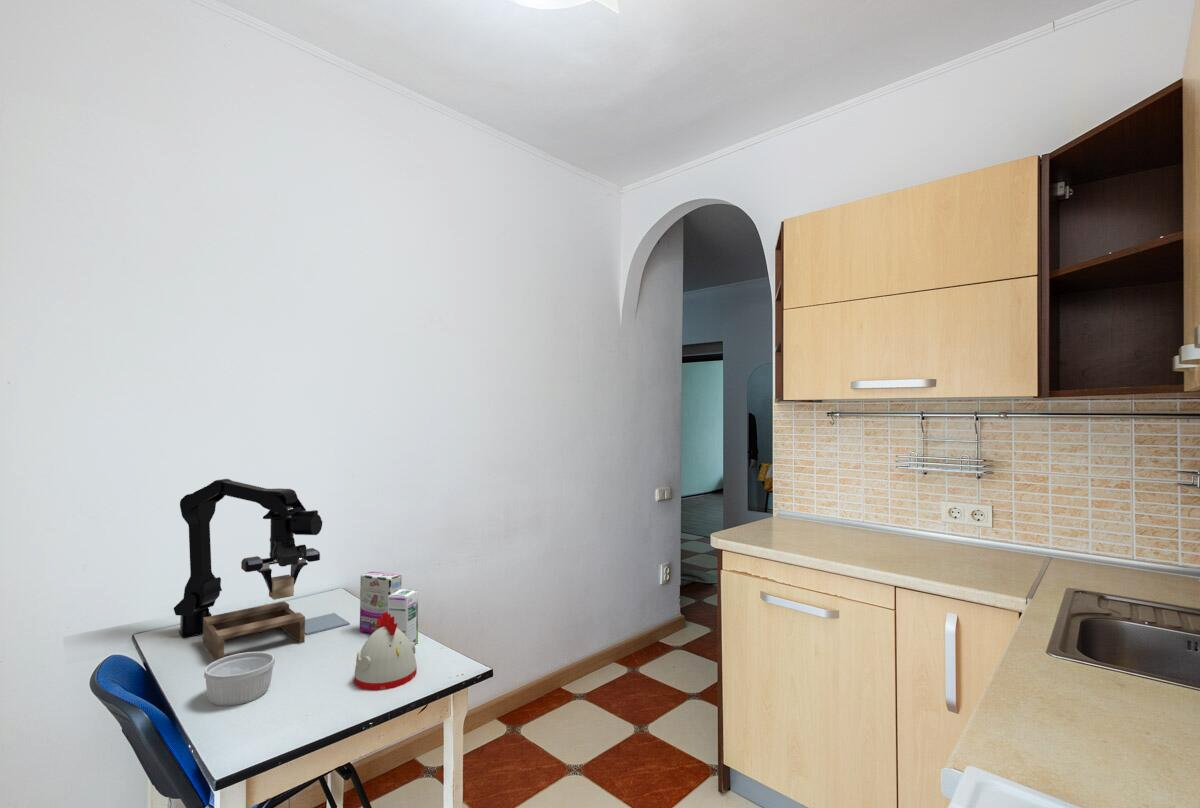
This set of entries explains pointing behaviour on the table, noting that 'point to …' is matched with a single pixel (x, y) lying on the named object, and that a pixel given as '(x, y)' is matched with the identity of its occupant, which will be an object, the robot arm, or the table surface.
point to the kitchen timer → (385, 658)
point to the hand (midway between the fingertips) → (281, 590)
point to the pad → (324, 623)
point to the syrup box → (405, 612)
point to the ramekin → (239, 678)
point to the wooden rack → (250, 625)
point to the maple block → (282, 587)
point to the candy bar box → (375, 598)
